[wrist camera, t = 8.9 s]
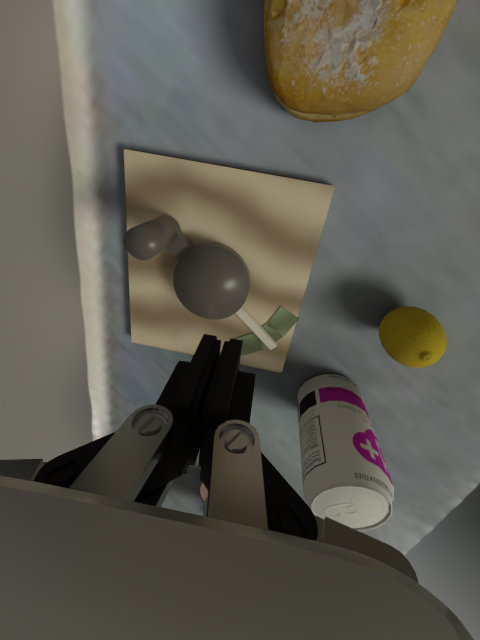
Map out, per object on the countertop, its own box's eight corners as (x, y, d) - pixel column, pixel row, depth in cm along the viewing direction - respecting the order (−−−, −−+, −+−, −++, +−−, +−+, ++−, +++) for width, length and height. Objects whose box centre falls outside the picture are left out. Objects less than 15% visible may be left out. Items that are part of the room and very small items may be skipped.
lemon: (360, 314, 33) (382, 354, 26) (407, 285, 31) (444, 320, 24) (386, 346, 34) (413, 392, 27) (433, 320, 32) (475, 363, 25)
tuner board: (283, 367, 38) (283, 373, 36) (135, 337, 38) (130, 342, 37) (335, 186, 27) (337, 186, 26) (129, 149, 28) (122, 148, 27)
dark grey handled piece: (301, 326, 33) (305, 359, 27) (248, 360, 36) (242, 396, 30) (183, 190, 27) (158, 195, 22) (134, 244, 31) (100, 261, 25)
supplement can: (343, 361, 36) (379, 472, 23) (368, 405, 39) (413, 526, 26) (286, 383, 39) (288, 493, 26) (313, 423, 42) (327, 540, 28)
